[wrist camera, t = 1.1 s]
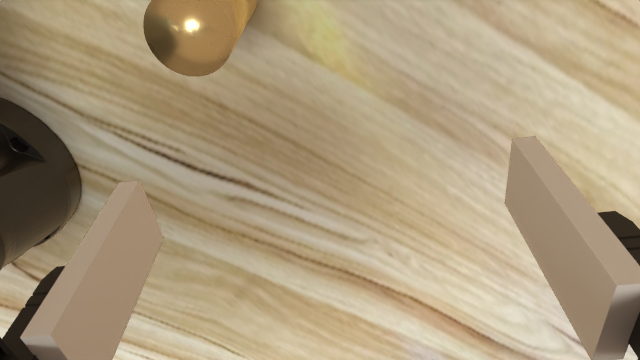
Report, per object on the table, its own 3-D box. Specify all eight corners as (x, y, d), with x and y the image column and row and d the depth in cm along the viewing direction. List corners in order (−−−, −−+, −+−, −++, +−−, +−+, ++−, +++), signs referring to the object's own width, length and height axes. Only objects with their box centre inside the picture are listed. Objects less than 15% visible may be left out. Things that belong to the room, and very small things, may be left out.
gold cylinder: (192, 19, 33) (146, 69, 25) (192, -50, 31) (140, -20, 23) (256, 29, 34) (231, 82, 25) (260, -39, 31) (234, -5, 23)
